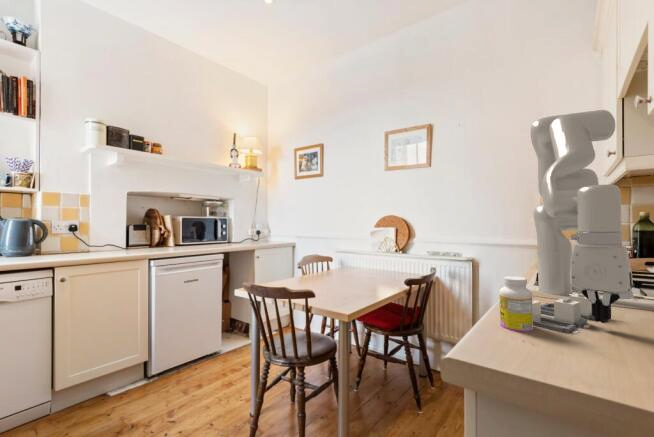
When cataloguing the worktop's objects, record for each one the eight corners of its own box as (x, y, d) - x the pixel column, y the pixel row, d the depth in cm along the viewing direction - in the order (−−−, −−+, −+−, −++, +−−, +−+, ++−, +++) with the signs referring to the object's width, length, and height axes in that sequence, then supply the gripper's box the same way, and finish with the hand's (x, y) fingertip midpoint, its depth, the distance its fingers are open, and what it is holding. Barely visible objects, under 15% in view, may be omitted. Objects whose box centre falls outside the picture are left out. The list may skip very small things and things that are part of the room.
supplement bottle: (502, 325, 79) (501, 274, 79) (533, 330, 75) (532, 276, 75) (498, 333, 73) (497, 278, 74) (532, 339, 70) (531, 281, 70)
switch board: (544, 308, 93) (543, 285, 93) (610, 321, 80) (609, 295, 80) (504, 323, 81) (503, 296, 81) (574, 341, 68) (573, 310, 68)
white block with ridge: (561, 318, 79) (560, 296, 79) (580, 322, 76) (580, 299, 76) (554, 321, 77) (553, 298, 77) (573, 326, 74) (573, 302, 74)
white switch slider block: (576, 312, 84) (575, 291, 84) (595, 315, 81) (594, 294, 81) (570, 314, 82) (569, 293, 82) (589, 318, 79) (588, 296, 79)
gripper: (553, 239, 75) (555, 316, 75) (639, 242, 63) (642, 334, 63) (567, 238, 80) (569, 311, 79) (650, 240, 67) (653, 327, 67)
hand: (601, 321), depth 71 cm, fingers closed
